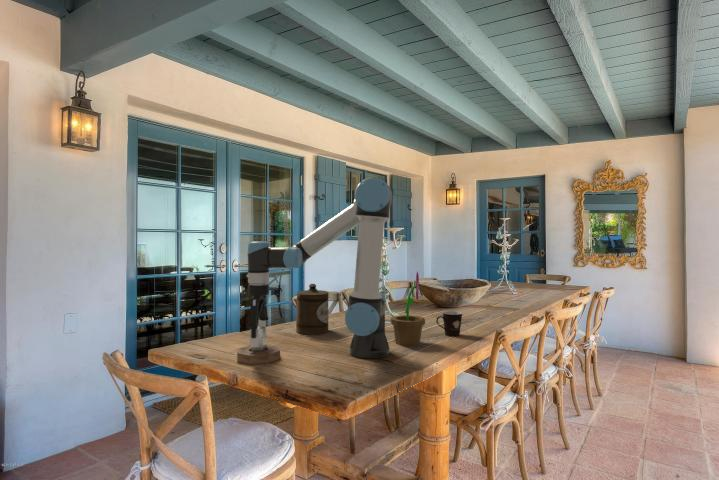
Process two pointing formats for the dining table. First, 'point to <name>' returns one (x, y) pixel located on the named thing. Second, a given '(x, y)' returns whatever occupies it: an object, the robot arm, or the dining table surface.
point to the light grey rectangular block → (260, 340)
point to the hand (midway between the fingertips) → (258, 342)
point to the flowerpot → (408, 323)
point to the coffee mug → (451, 323)
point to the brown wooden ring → (258, 354)
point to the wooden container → (312, 311)
